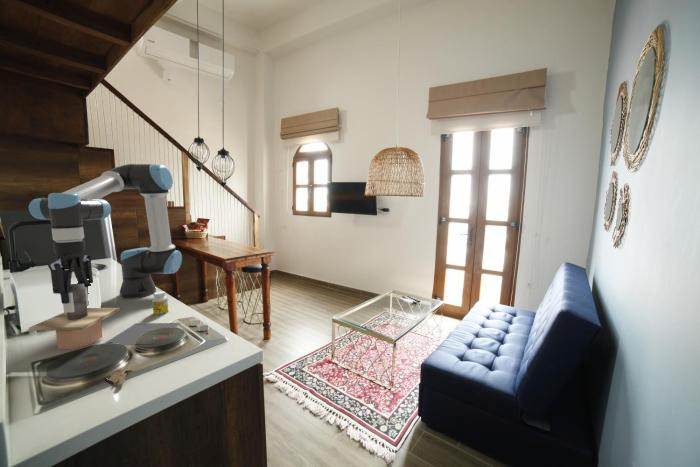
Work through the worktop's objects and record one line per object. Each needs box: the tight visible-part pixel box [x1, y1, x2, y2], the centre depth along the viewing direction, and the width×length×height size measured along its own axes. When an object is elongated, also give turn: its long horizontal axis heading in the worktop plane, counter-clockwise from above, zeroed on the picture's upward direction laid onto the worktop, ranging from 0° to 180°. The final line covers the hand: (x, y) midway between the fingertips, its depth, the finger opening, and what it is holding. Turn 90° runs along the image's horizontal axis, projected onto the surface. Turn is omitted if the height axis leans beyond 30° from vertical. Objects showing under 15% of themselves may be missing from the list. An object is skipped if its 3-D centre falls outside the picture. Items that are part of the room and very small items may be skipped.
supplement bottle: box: [152, 290, 169, 316], centre depth 125 cm, size 5×5×10 cm
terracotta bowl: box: [55, 320, 103, 350], centre depth 101 cm, size 11×11×7 cm
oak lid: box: [28, 283, 121, 332], centre depth 99 cm, size 16×16×12 cm
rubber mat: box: [104, 322, 181, 346], centre depth 107 cm, size 17×17×1 cm
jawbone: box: [105, 366, 133, 387], centre depth 88 cm, size 9×20×2 cm, turn 169°
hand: (76, 308), depth 100 cm, fingers closed on oak lid, 5 cm apart
